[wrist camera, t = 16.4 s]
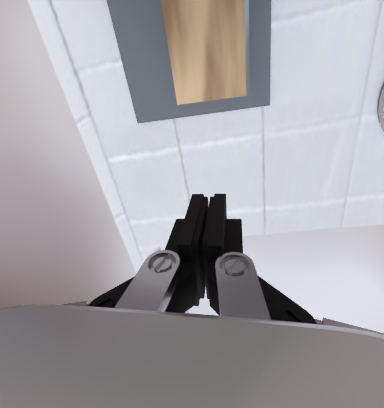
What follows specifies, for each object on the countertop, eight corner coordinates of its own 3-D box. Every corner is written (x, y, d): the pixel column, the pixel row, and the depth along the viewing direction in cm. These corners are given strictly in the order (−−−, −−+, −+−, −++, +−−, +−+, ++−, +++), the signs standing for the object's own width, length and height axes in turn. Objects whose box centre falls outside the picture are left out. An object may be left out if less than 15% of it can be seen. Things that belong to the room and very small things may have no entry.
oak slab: (167, -2, 25) (245, -19, 24) (182, 100, 30) (247, 91, 28) (159, -12, 22) (248, -31, 21) (177, 105, 27) (250, 95, 25)
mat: (270, -54, 22) (271, -55, 22) (269, 104, 29) (269, 105, 29) (105, -13, 25) (103, -14, 25) (138, 122, 32) (137, 123, 32)
